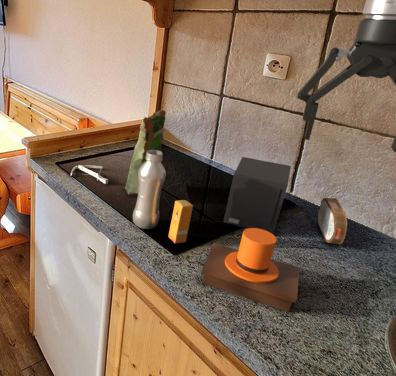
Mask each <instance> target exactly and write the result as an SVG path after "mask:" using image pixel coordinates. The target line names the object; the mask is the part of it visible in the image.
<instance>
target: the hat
mask: <svg viewBox="0 0 396 376" xmlns="http://www.w3.org/2000/svg"><path fill="white" fill-rule="evenodd" d="M277 241H278V240H277V237H276V235H274V234H272V233H270V232H268V231H265V230H262V229H258V228H248V229H247V228H244V230H243V232H242V236H241V239H240V243H239V247H238V250H239V251H238V252H233V253H230V254H229V255H227V257H226V259H225V264H226V267H227V268H228V269H229V270H230V271H231V272H232V273H233V274H235V275H236V276H238V277H240V278H242V279H245V280H247V281H251V282H256V283H269V282H273V281H275V280H276V279H277V278H278V275H279V270H278V268H277V267H276V265H275V264H274V263H273V262H271V259H272V257H273V254H274V252H275V251H274V250H275V248H276V244H277Z"/></svg>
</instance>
